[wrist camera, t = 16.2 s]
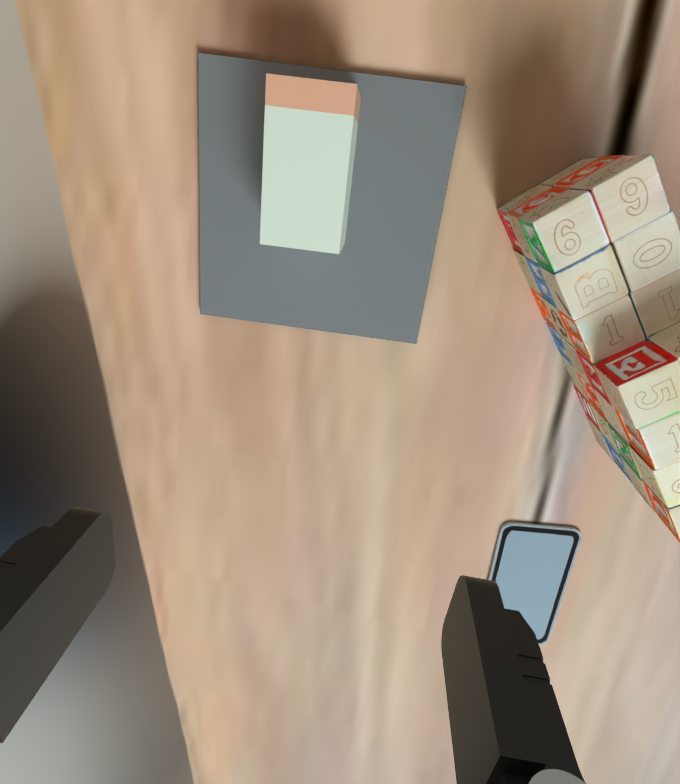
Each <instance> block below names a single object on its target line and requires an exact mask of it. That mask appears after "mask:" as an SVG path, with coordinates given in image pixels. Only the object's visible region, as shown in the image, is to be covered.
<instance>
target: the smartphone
mask: <svg viewBox="0 0 680 784" xmlns="http://www.w3.org/2000/svg"><path fill="white" fill-rule="evenodd" d="M581 539H582V536H581V533H580V531H579V530H578V529H576V528H574V527H567V526H555V525H541V524H533V523H530V524H529V523H522V522H520V523H519V522H507V523H505V524H504V525H502V526H501V528H500V531H499V535H498V539H497V543H496V548H495V552H494V556H493V561H492V565H491V568H490V573H489V577H488V580H491V581H495V582H496V583H497V585H498V587H499V590H500V594H501V598H502V601H503V605H504V608H505V609H511V610H517V611H519V612H520V613H521V615H522V616H523V617H524V619H525V620H526V622H527V623H528V624H529V626H530V627H531V629H532V630H533V631H534V633H535V635H536V638H537V641H538V644H539V645H541V644H544V643H546V642H547V641H548V640H549V638H550V635H551V632H552V629H553V626H554V623H555V619H556V616H557V613H558V610H559V607H560V604H561V601H562V598H563V595H564V592H565V588H566V585H567V582H568V579H569V576H570V573H571V570H572V567H573V564H574V561H575V557H576V554H577V551H578V548H579V545H580V542H581Z"/></svg>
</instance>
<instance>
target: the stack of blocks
mask: <svg viewBox="0 0 680 784" xmlns="http://www.w3.org/2000/svg"><path fill="white" fill-rule="evenodd" d="M497 211H498V214H499V216H500V218H501V220H502V222H503V224H504V227H505V229H506V231H507V233H508V235H509V238H510V240H511V242H512V244H513V246H514V247H515V251H514V252H515V254H516V256H517V259H518V261H519V263H520V266H521V268H522V270H523V272H524V275H525V277H526V279H527V281H528V283H529V285H530V288H531V291H532V293H533V295H534V298H535V300H536V302H537V304H538V307H539V309H540V311H541V313H542V316H543V318H544V320H545V321H546V322H547V324H548V327H549V329H550V331H551V334H552V336H553V338H554V340H555V343H556V345H557V347H558V350H559V352H560V353H561V355H562V358H563V360H564V363H565V365H566V367H567V369H568V372H569V374H570V376H571V378H572V381H573V383H574V388H575V390H576V393H577V395H578V397H579V399H580V402H581V404H582V406H583V409H584V411H585V413H586V415H587V419H588V421H589V423H590V426H591V428H592V430H593V433H594V435H595V437H596V439H597V442H598V443H599V445H600V446H601V447H602V448H603V449H604V450H605V452H606V453H607V454H608V456H609V457H610V458H611V459H612V461H613V462H615V463H616V464H617V465H618V467H619V468H620V469H621V470H622V471H623V473H624V474H625V475H626V476H627V477H628V479H629V480H630V481H631V483H632V484H633V485H634V487H635V489H636V490H637V491H638V492H639V493H640V495H641V496H642V497H643V499H644V500H645V501H646V502H647V504H648V505H649V506H650V507H651V508H652V509H653V511H654V512H655V513H657V514H658V516H659V517H660V519H661V520H662V521H663V522H664V524H665V525H666V526H667V527H668V528H669V530H670V531H671V532H672V533H673V535H674V536H675V537H676V538H677V540H678V541H679V542H680V230H679V227H678V224H677V221H676V218H675V215H674V212H673V211H672V210H670V208H669V204H668V200H667V197H666V194H665V191H664V188H663V185H662V181H661V178H660V175H659V173H658V169H657V166H656V163H655V160H654V157H653V155H652V154H650V155H630V156H624V155H614V156H604V157H597V158H588V159H582V160H580V161H578V162H577V163H575V164H573V165H572V166H570V167H568V168H567V169H565V170H563V171H561V172H560V173H558V174H556V175H555V176H553V177H551V178H549V179H548V180H546V181H544V182H542V183H541V184H539V185H537V186H535V187H533V188H532V189H530V190H528V191H526V192H524V193H523V194H521V195H519V196H518V197H516V198H514V199H513V200H511V201H509V202H508V203H506V204H505V205H503V206H502V207H500V208H499V209H498V210H497Z"/></svg>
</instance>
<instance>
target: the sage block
mask: <svg viewBox="0 0 680 784" xmlns="http://www.w3.org/2000/svg"><path fill="white" fill-rule="evenodd" d="M360 102H361V96H360V93H359V89H358V85H357V84H353V83H344V82H336V81H327V80H319V79H310V78H302V77H293V76H285V75H276V74H268V73H266V90H265V116H264V143H263V170H262V196H261V223H260V244H263V245H271V246H279V247H287V248H294V249H302V250H310V251H318V252H326V253H334V254H339V253H340V252H341V250H342V248H343V246H344V244H345V238H346V229H347V220H348V211H349V202H350V193H351V184H352V175H353V166H354V157H355V148H356V138H357V129H358V120H359V111H360Z"/></svg>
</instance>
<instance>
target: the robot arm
mask: <svg viewBox="0 0 680 784" xmlns="http://www.w3.org/2000/svg"><path fill="white" fill-rule="evenodd" d="M114 568H115V556H114V544H113V534H112V522H111V517H110V515H109V514H108V513H107V512H101V511H95V510H90V509H84V508H78V507H73V508H71V509H69V510H68V511H67V512H66V513H65V514H64V515H63V516H62V517H61V518H60V519H59V520H58V521H57V522H56V524H55V525H53V526H52V528H50V527H44V526H42V527H40V528H38V529H37V530H35V531H33V532H31V533H30V534H28V535H26V536H25V537H23V538H21V539H19V540H18V541H16V542H15V543H14V544H13V545H12V546H11V547H10V548H9V549H8V550H7V551H6V552H5V553H4V554H3V555H2V556H1V557H0V743H3V742H4V740H5V739H6V737H7V736H8V734H9V733H10V731H11V730H12V728H13V727H14V725H15V724H16V722H17V721H18V720H19V718H20V717H21V715H22V714H23V712H24V710H25V709H26V708H27V706H28V705H29V703H30V702H31V700H32V699H33V698H34V696H35V694H36V693H37V692H38V690H39V689H40V687H41V686H42V684H43V683H44V681H45V680H46V678H47V677H48V675H49V674H50V672H51V671H52V669H53V668H54V666H55V665H56V663H57V662H58V661H59V659H60V658H61V656H62V655H63V653H64V652H65V650H66V649H67V647H68V646H69V645H70V643H71V641H72V640H73V639H74V637H75V636H76V634H77V633H78V631H79V629H80V628H81V627H82V625H83V624H84V622H85V621H86V620H87V618H88V617H89V615H90V614H91V612H92V611H93V609H94V608H95V606H96V604H97V603H98V602H99V600H100V599H101V597H102V596H103V594H104V593H105V591H106V590H107V588H108V586H109V584H110V582H111V579H112V576H113V572H114ZM442 658H443V667H444V675H445V684H446V693H447V701H448V710H449V719H450V728H451V736H452V745H453V754H454V762H455V771H456V780H457V784H586V783H585V781H584V779H583V777H582V775H581V773H580V770H579V767H578V764H577V761H576V758H575V755H574V752H573V749H572V746H571V743H570V740H569V737H568V734H567V730H566V727H565V724H564V721H563V718H562V715H561V712H560V709H559V706H558V703H557V700H556V696H555V693H554V690H553V687H552V685H550V678H549V675H548V672H547V669H546V666H545V664H544V663H543V656H542V653H541V650H540V647H539V644H538V641H537V638H536V635H535V633H534V631H533V630H532V629H531V627H530V626H529V624H528V623H527V622H526V620H525V619H524V617H523V616H522V615H521V613H520V612H519V611H517V610H511V609H505V608H504V605H503V601H502V598H501V594H500V590H499V587H498V585H497V583H496V582H495V581H491V580H485V579H480V578H474V577H468V576H460V577H459V579H458V582H457V584H456V587H455V590H454V593H453V596H452V599H451V602H450V605H449V608H448V611H447V614H446V617H445V620H444V624H443V630H442Z"/></svg>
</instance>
